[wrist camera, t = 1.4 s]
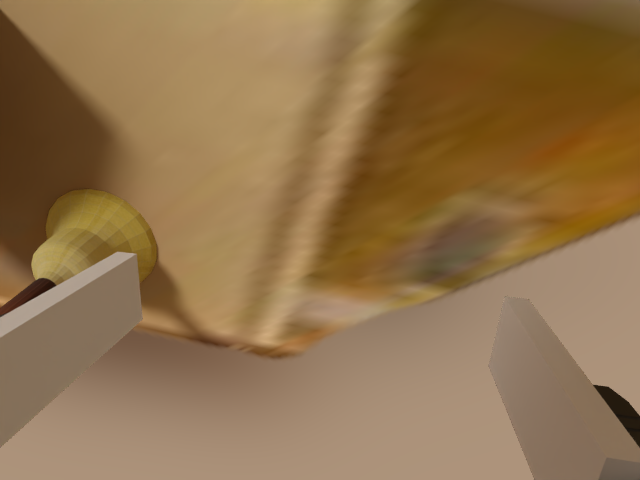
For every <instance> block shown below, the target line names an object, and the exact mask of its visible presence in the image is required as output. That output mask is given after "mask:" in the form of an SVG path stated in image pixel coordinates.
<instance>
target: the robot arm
mask: <svg viewBox="0 0 640 480" xmlns="http://www.w3.org/2000/svg"><path fill="white" fill-rule="evenodd" d="M142 319H143V318H142V307H141V296H140V285H139V273H138V262H137V254H134V253H125V252H116V253H114V254H112V255H111V256H109V257H107V258H105V259H103V260H102V261H100V262H98V263H96V264H95V265H93V266H91V267H89V268H87V269H86V270H84V271H82V272H80V273H79V274H77V275H75V276H73V277H71V278H70V279H68V280H66V281H64V282H62V283H61V284H59V285H57V286H55V287H54V288H52V289H50V290H48V291H46V292H45V293H43V294H41V295H39V296H38V297H36V298H34V299H32V300H30V301H29V302H27V303H25V304H23V305H21V306H20V307H18V308H16V309H14V310H13V311H11V312H8V313H5V314H2V315H0V447H1V446H2V445H4V444H5V443H6V442H7V441H8V440H9V439H10V438H12V437H13V436H14V435H15V434H16V433H17V432H18V431H19V430H20V429H21V428H23V427H24V426H25V425H26V424H27V423H28V422H29V421H30V420H31V419H33V418H34V417H35V416H36V415H37V414H38V413H39V412H40V411H41V410H43V408H45V407H46V406H47V405H48V404H49V403H50V402H51V401H52V400H54V399H55V398H56V397H57V396H58V395H59V394H60V393H61V392H63V391H64V390H65V389H66V388H67V387H68V386H69V385H70V384H71V383H73V382H74V381H75V380H76V379H77V378H78V377H79V376H80V375H81V374H83V373H84V372H85V371H86V370H87V369H88V368H89V367H90V366H91V365H92V364H94V363H95V362H96V361H97V360H98V359H99V358H100V357H101V356H102V355H104V353H106V352H107V351H108V350H109V349H110V348H111V347H112V346H114V345H115V344H116V343H117V342H118V341H119V340H120V339H121V338H122V337H124V336H125V335H126V334H127V333H128V332H129V331H130V330H131V329H132V328H134V327H135V326H136V325H137V324H138V323H139V322H140V321H141V320H142ZM489 368H490V371H491V373H492V375H493V378H494V380H495V383H496V386H497V388H498V390H499V393H500V395H501V398H502V400H503V403H504V405H505V407H506V410H507V413H508V415H509V417H510V420H511V423H512V425H513V428H514V430H515V432H516V435H517V438H518V440H519V442H520V445H521V447H522V450H523V452H524V455H525V457H526V460H527V462H528V465H529V467H530V470H531V472H532V475H533V477H534V480H640V416H639V414H638V413H637V412H636V411H635V410H634V408H633V407H632V406H631V405H630V403H629V402H628V401H626V400H625V399H624V398H622V397H621V396H620V395H618V394H617V393H616V392H614V391H613V390H612V389H610V388H609V387H605V386H598V385H592V383H591V382H590V381H589V379H588V378H587V377H586V375H585V374H584V373H583V371H582V370H581V368H580V367H579V366H578V365H577V364H576V362H575V360H574V359H573V358H572V356H571V355H570V354H569V353H568V351H567V350H566V349H565V347H564V346H563V344H562V343H561V342H560V340H559V339H558V338H557V336H556V335H555V334H554V332H553V331H552V330H551V328H550V327H549V326H548V325H547V323H546V322H545V320H544V319H543V318H542V316H541V315H540V314H539V312H538V311H537V310H536V308H535V307H534V305H533V304H532V303H531V302H530V300H529V299H524V298H515V297H506V296H505V297H504V302H503V306H502V310H501V315H500V319H499V323H498V328H497V332H496V336H495V341H494V345H493V349H492V354H491V358H490V362H489Z"/></svg>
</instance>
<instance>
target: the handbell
mask: <svg viewBox="0 0 640 480" xmlns="http://www.w3.org/2000/svg"><path fill="white" fill-rule="evenodd" d="M45 228H46V235H47V241H45V242H44V243H43V244H42V245H41V246H40V247H39V248H38V249H37V250H36V252H35V253H34V255H33V259H32V263H31V266H32V271H33V275H34V277H35V279H36V281H34V282H33V283H32V284H31V285H29V286H28V287H27V288H25V289H24V290H23V291H22V292H20V293H19V294H18V295H16V296H15V297H14V298H13V299H11V300H10V301H9V302H7V303H6V304H5V305H4V306H2V307H1V308H0V315H2V314H5V313H8V312H11V311H13V310H14V309H16V308H18V307H20V306H21V305H23V304H25V303H27V302H29V301H30V300H32V299H34V298H36V297H38V296H39V295H41V294H43V293H45V292H46V291H48V290H50V289H52V288H54V287H55V286H57V285H59V284H61V283H62V282H64V281H66V280H68V279H70V278H71V277H73V276H75V275H77V274H79V273H80V272H82V271H84V270H86V269H87V268H89V267H91V266H93V265H95V264H96V263H98V262H100V261H102V260H103V259H105V258H107V257H109V256H111V255H112V254H114V253H116V252H125V253H134V254H137V262H138V273H139V283H140V282H142V281H143V280H144V279H145V278H146V277H147V276H148V275H149V274H150V273H151V272H152V270H153V268H154V265H155V262H156V260H157V244H156V241H155V238H154V236H153V233H152V230H151V228H150V226H149V225H148V224H147V222H146V221H145V219H144V218H143V217H142V215H141V214H140V213H139V212H138V211H137V210H135V209H134V208H133V207H132V206H131V205H129V204H128V203H127V202H126V201H125V200H122V199H120V198H118V197H116V196H114V195H112V194H110V193H108V192H104V191H98V190H93V189H82V190H74V191H70V192H68V193H67V194H65V195H63V196H61V197H59V198H58V199H57V200H56V201H55V203H54V204H53V205H52V207H51V208H50V209H49V213H48V217H47V222H46V226H45Z"/></svg>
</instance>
